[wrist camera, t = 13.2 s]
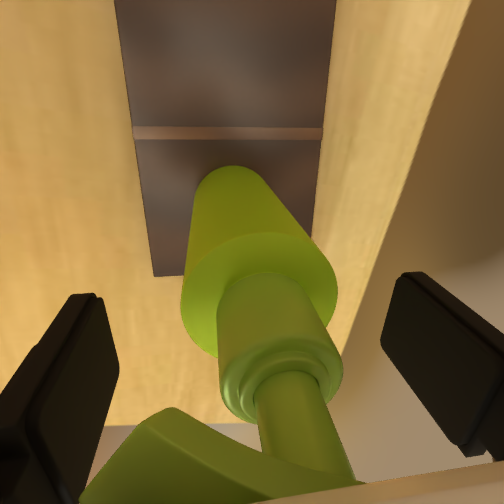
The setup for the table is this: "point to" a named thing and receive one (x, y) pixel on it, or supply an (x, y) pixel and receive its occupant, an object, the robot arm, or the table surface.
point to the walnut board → (223, 103)
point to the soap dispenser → (245, 362)
